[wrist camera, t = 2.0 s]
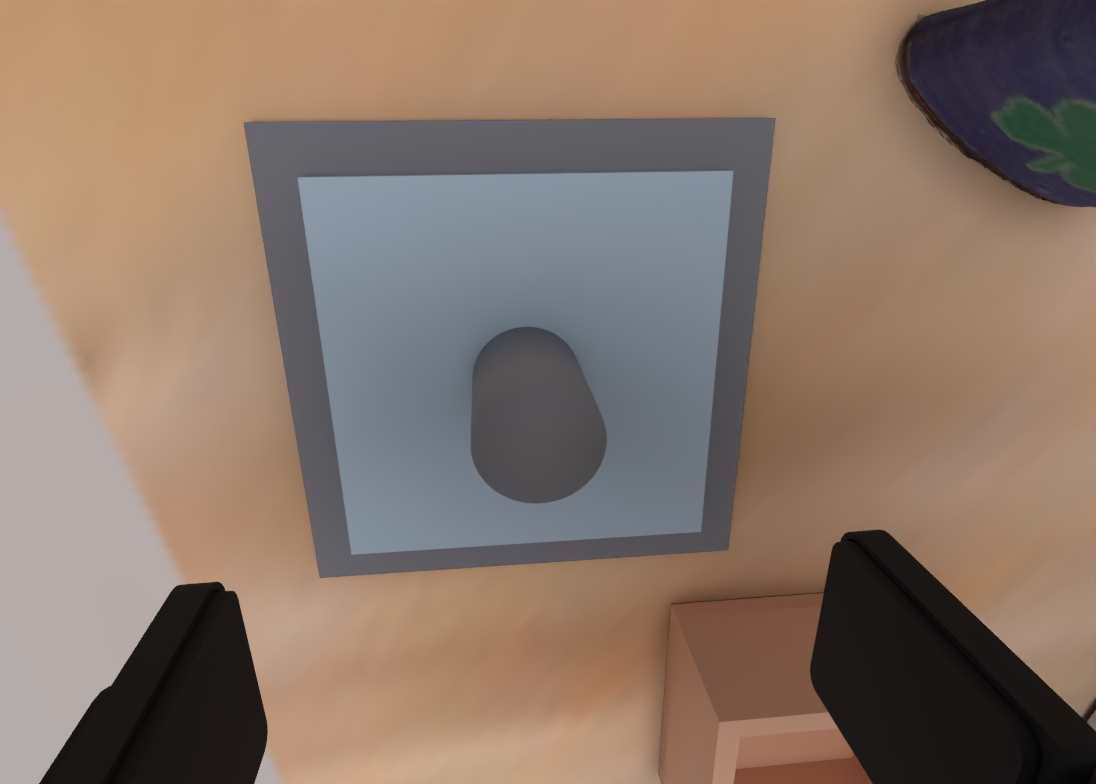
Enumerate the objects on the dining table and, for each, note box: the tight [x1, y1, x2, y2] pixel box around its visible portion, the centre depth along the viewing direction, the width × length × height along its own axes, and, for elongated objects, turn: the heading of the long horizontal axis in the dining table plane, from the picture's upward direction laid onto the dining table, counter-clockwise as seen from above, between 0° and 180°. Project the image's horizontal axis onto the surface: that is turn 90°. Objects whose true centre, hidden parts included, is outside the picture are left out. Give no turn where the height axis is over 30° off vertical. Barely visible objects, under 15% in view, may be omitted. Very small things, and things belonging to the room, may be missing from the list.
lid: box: [297, 170, 733, 555], centre depth 20 cm, size 13×13×6 cm
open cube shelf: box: [659, 593, 873, 784], centre depth 27 cm, size 10×10×6 cm
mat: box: [244, 118, 775, 578], centre depth 23 cm, size 16×16×1 cm
